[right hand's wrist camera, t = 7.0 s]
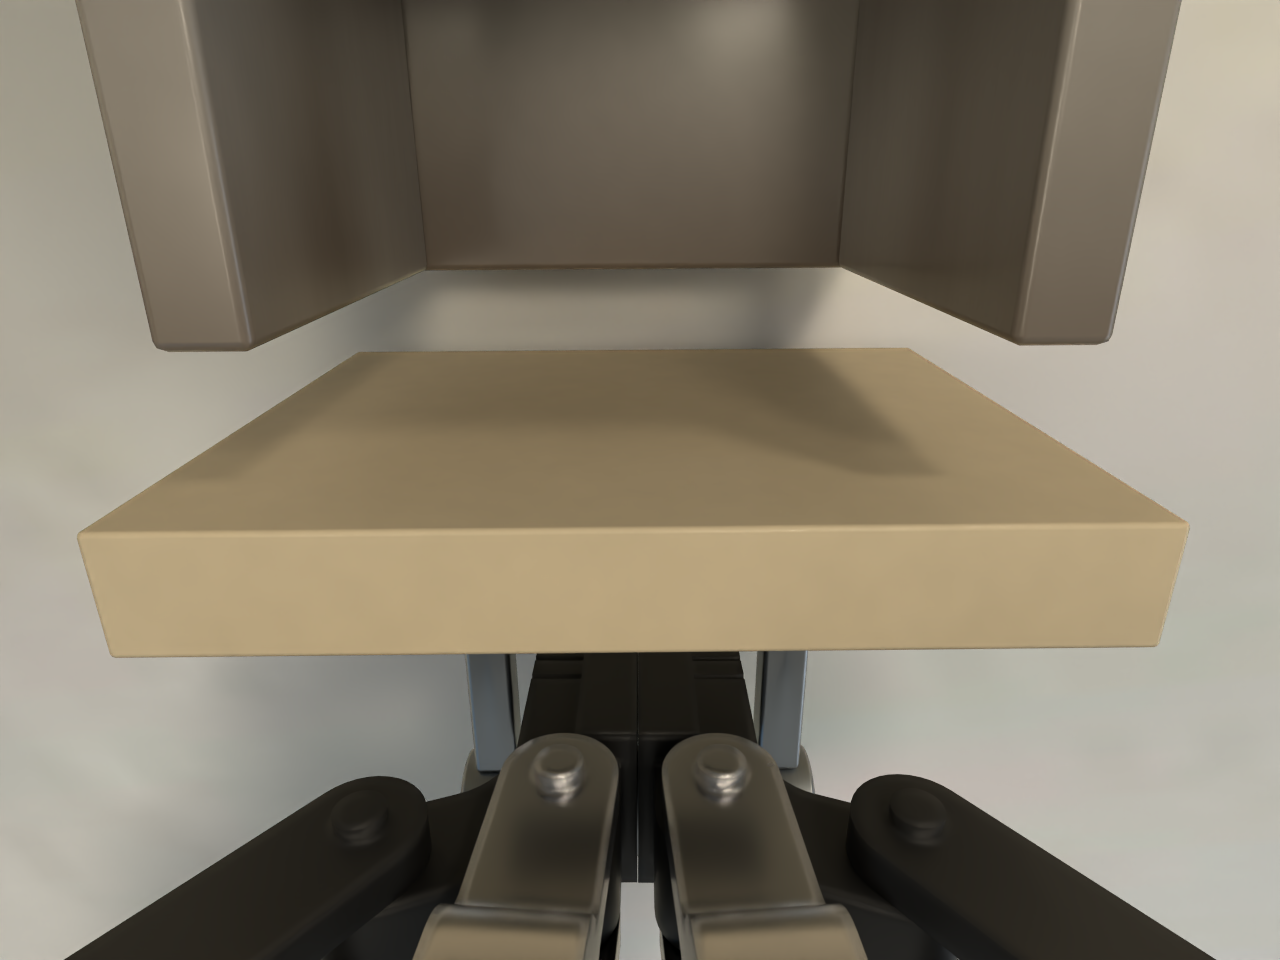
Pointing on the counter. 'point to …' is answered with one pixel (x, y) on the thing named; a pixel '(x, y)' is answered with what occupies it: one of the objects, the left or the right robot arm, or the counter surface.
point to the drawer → (630, 379)
